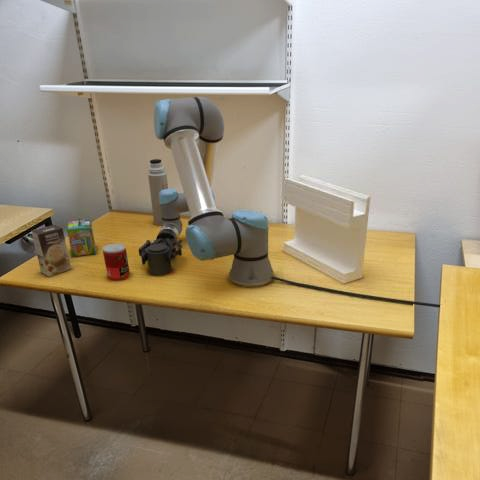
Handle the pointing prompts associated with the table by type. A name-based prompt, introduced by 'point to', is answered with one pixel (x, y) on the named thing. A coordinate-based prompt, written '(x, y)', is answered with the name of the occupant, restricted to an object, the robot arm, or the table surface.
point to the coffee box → (51, 250)
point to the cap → (158, 259)
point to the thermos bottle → (157, 187)
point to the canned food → (116, 261)
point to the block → (328, 227)
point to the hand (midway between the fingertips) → (155, 260)
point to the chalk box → (81, 237)
